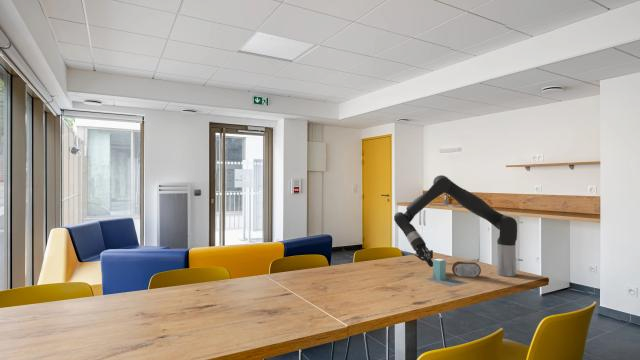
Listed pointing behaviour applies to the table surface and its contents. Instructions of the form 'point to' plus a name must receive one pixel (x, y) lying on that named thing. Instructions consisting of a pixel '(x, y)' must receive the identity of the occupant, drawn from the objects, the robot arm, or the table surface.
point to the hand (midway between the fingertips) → (432, 266)
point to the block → (439, 269)
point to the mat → (448, 281)
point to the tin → (466, 269)
